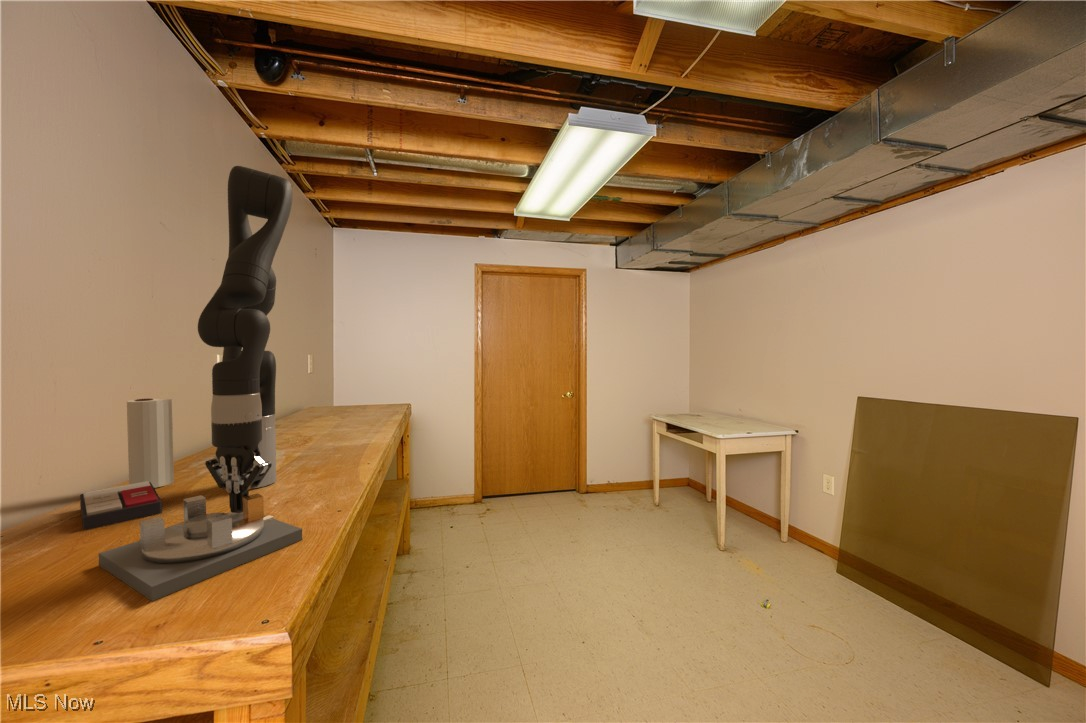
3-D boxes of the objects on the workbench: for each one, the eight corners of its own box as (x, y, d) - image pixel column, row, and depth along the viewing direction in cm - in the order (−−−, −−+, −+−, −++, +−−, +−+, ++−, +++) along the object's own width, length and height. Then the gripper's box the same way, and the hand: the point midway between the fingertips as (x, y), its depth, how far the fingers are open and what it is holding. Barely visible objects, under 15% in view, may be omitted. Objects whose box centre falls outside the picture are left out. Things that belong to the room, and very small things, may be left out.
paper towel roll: (121, 490, 100) (119, 400, 99) (149, 482, 106) (146, 397, 105) (148, 492, 99) (145, 401, 98) (174, 484, 105) (171, 398, 104)
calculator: (83, 513, 79) (79, 490, 89) (83, 535, 79) (80, 510, 89) (161, 497, 87) (150, 478, 97) (162, 517, 88) (151, 496, 97)
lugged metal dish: (188, 520, 78) (187, 493, 78) (280, 517, 81) (280, 490, 80) (112, 565, 63) (111, 531, 62) (229, 559, 65) (229, 526, 64)
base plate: (98, 565, 67) (98, 550, 67) (244, 518, 85) (244, 506, 85) (152, 601, 58) (151, 584, 58) (302, 539, 76) (302, 526, 76)
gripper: (284, 416, 80) (285, 507, 81) (227, 413, 83) (229, 500, 84) (248, 423, 73) (250, 523, 73) (187, 419, 76) (190, 515, 76)
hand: (239, 511), depth 78 cm, fingers closed
